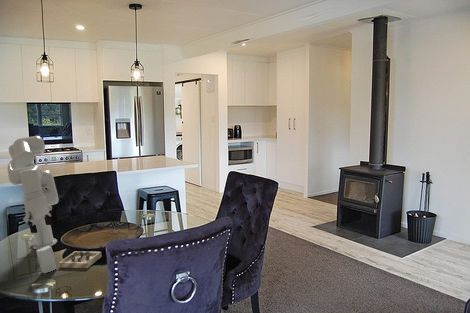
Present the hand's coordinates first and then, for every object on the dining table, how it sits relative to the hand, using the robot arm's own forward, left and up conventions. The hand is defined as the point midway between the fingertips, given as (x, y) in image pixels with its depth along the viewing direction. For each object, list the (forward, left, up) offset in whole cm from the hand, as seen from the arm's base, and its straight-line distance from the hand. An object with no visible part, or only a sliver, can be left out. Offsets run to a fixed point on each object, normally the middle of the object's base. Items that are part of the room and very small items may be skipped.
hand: (41, 228), depth 183 cm
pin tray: (+11, +9, -22) cm, 26 cm away
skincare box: (0, -1, -22) cm, 22 cm away
